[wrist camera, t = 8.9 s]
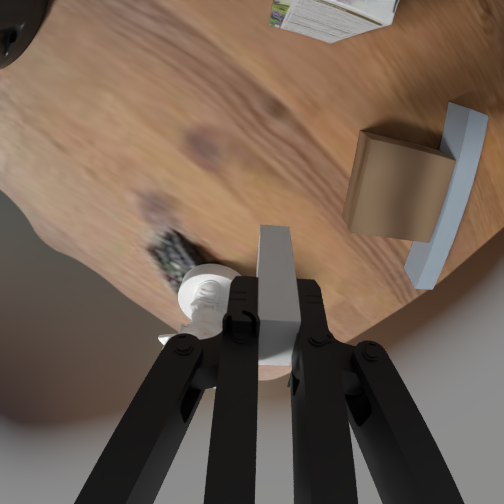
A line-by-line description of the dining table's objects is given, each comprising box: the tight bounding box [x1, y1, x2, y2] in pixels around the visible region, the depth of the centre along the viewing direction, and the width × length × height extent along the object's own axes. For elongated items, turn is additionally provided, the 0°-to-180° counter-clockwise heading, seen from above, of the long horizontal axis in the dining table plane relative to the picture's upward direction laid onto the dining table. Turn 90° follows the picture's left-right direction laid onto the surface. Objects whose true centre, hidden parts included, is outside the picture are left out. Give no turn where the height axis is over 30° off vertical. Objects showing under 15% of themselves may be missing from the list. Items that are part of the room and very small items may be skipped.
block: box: [342, 131, 456, 243], centre depth 27 cm, size 9×9×4 cm
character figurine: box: [158, 264, 241, 388], centre depth 33 cm, size 9×10×12 cm
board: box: [404, 102, 489, 289], centre depth 27 cm, size 2×20×4 cm, turn 177°
